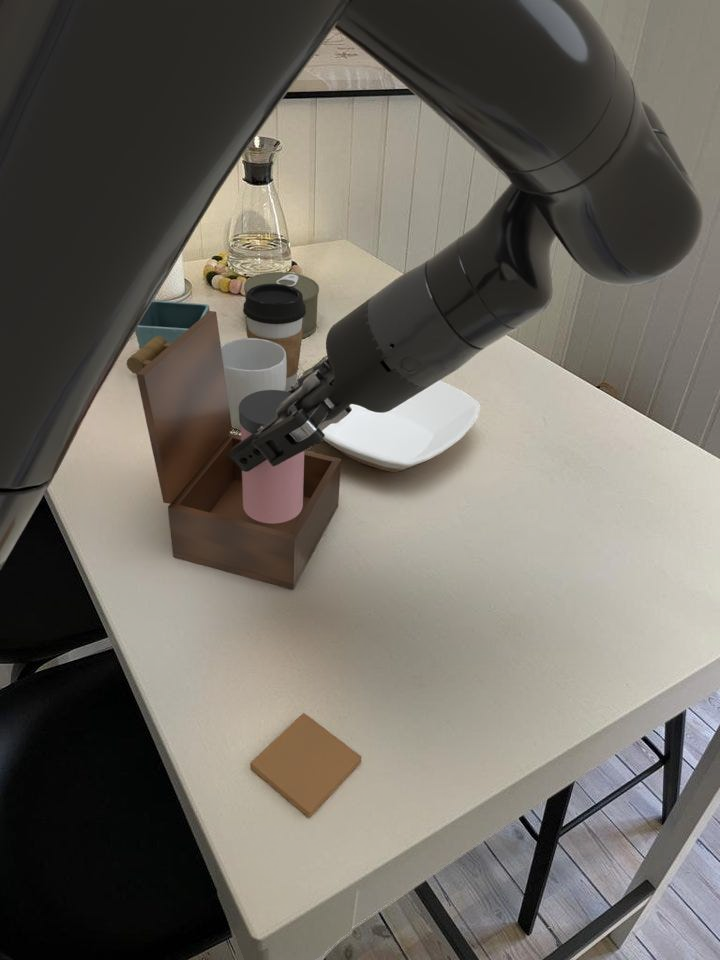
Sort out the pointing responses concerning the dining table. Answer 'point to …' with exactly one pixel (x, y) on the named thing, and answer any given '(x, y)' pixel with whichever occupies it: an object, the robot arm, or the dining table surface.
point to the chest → (251, 520)
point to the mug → (252, 370)
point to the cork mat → (306, 764)
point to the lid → (183, 401)
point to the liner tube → (270, 466)
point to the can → (300, 283)
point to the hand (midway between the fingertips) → (252, 441)
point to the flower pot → (168, 320)
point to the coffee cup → (277, 321)
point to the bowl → (405, 429)
